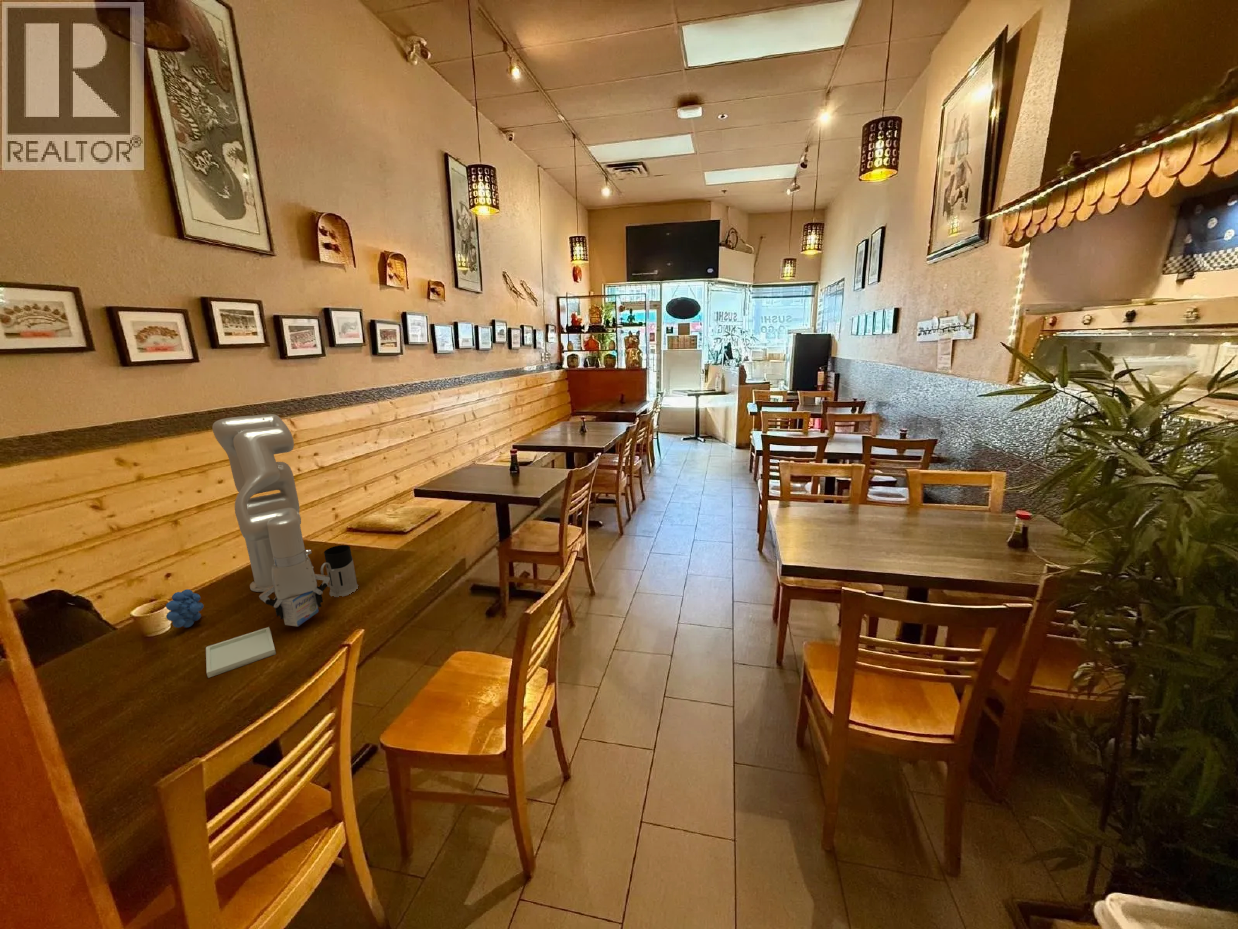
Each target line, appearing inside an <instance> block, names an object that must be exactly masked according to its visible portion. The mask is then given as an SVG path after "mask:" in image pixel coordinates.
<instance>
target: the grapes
mask: <svg viewBox="0 0 1238 929" xmlns="http://www.w3.org/2000/svg"><path fill="white" fill-rule="evenodd" d="M171 599H172V600H170V601H168V602H166V604H165V608H166V609H167V610H168V611H169V612H167V613H166V615H165V618H166V619H167V620H168V621H169V622H172V626H173V627H174V628H178V629H179V628H182V627H183V628H190V627H192V626H193V625H194V624H195V622H197V621H199V620H200V619H201V617H202V614H201V613H200V612H201V611H202V610H203V608H204V607H205V606H204V604H203V603H202V602H200V600H201V599H202V598H201V596H200V594H199V593H195V592H193V591H192V590H191V589H188V588H187V589H184V590H182V591H177V592H175V593H173V594H172V596H171Z"/></svg>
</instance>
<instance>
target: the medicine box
mask: <svg viewBox="0 0 1238 929" xmlns="http://www.w3.org/2000/svg"><path fill="white" fill-rule="evenodd" d="M280 604H281V608H282V612H283V617H284V618H283V622H284V625H285V626H292V627H300V626H301V625H302V624H304V623H305V622H306V621H308V620H310V619H311V618H313V616H315V615H316V614H318V613H319V607H318V605H317V600H316V595H315V592H314V591H310V592H307V593H304V594H300V595H297V596H293V597H290V598H286V599H283V600H282V602H281V603H280Z"/></svg>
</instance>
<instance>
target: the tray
mask: <svg viewBox="0 0 1238 929" xmlns="http://www.w3.org/2000/svg"><path fill="white" fill-rule="evenodd" d="M276 654H277V652H276V649H275V644H274V642H273V637H272V631H271V629H270V626H268V627H267V626H266V627H264V628H260V629H258V630H255V631H253V632H248V633H246V634H241V635H238V636H235V637H233V638H230V639H227V640H223V641H221V642H217V643H214V644H210V645H208V646H206V647H205V658H206V659H205V663H206V676H207V678H208V679H209V678H211V677H214V676H215V677H216V676H217V675H221V674H223V673H226V672H229V671H232V670H234V669H237V668H240V667H244V666H246V665H249V664H252V663H254V662H257V661H260V660H263V659H265V658H269V657H271V656H274V655H276Z"/></svg>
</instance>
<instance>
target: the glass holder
mask: <svg viewBox="0 0 1238 929" xmlns="http://www.w3.org/2000/svg"><path fill="white" fill-rule="evenodd" d="M351 550H352V549H351V546H350V545H348V544H347V545H346V544H341V545H340V544H339V545H335V546H331V547H329V548H327V549H325V550H324V552H323V553H324V554H323V555H324V559H325V562H324V563H322V565H321V567H320V575H325V574H324V567H325V569H326V573H327V576H329V577H330V580H329V582H328V584H327V587H328V588H329V596H330V597H332V596H334V597H333V598H340V597H339V596H342V597H345V596H349V594H350V595H352V594H353V593H352V592H354V593H355V591H356V589H358V586H359V584H358V583H357V576H356V571H355V564H354V559H353V556H352V552H351ZM358 590H359V589H358ZM356 592H357V591H356ZM351 593H352V594H351Z"/></svg>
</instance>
